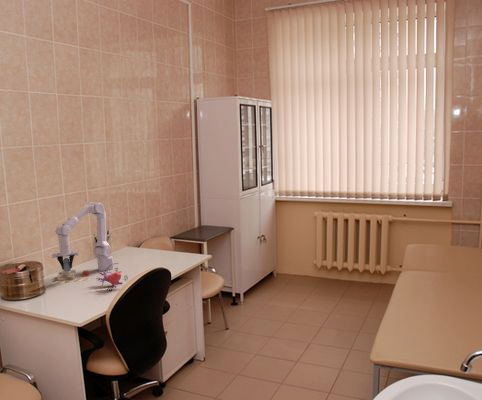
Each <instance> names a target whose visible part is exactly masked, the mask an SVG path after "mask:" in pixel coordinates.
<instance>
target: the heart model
mask: <svg viewBox="0 0 482 400" xmlns="http://www.w3.org/2000/svg"><path fill="white" fill-rule="evenodd" d="M111 265H119V263H118V262H117V263H115V262H114V263H113V264H111ZM111 265H110V266H111ZM110 266H109V267H110ZM109 267H108V268H109ZM108 268H107V269H108ZM107 269H106V270H104V271H100V270H98V271H97V274H99V275H101V276H103V278H101V277H96V280H97V281H98V282H100V283H102V287H103V286H104V282H108V283H110V286H108V287H107V290H108V291H109V292H112V291H113V289H114V287H112V286H115V287H117V288H118V286H119V285H123V282H122V281H121V282H120V280H121V279H122V274H121V273H122V272H123V271H122V270H121V271H118V269H119V268H118V267H114V268H113V270H114V271H115V272H111V271H109V270H107ZM109 273H110V274H109ZM128 278H129V277H128V274H125V275H124V277H123V280H124V281H127V280H128ZM116 285H117V286H116Z"/></svg>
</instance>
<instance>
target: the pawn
mask: <svg viewBox="0 0 482 400" xmlns="http://www.w3.org/2000/svg"><path fill="white" fill-rule="evenodd" d="M63 267H64V271H65V272H67V271H71V270H72V268H71V269H70V261H69V257H64V258H63Z"/></svg>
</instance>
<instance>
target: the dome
mask: <svg viewBox="0 0 482 400" xmlns="http://www.w3.org/2000/svg"><path fill="white" fill-rule="evenodd" d="M61 271H62V272H61V273H62V274H71V271H67V272H65V271H64V269H62V270H61Z"/></svg>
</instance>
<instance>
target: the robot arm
mask: <svg viewBox="0 0 482 400" xmlns="http://www.w3.org/2000/svg"><path fill="white" fill-rule="evenodd" d="M76 213H77V214H75V215H74V216H69V217H68V219H66V221H64V222H63V223H61V224H60V225H58V226H56V229H55V231H54V232H55V234H56V235H57V238H58V247H59V252H57V253H52V255H51V256H52V257H51V258H52V259H54V258H57V259H56V260H57V261H58V262H59V264H60V266H61V269H62V270H63V269H64V267H63V260H64V258H66V257H68V259H69V261H70V269H71V270H72V269H73V262H74V258H75V256H79V255H80V252H79V251H80V250H79V251H71V244H70V236H69V235H70V234H71V231H72V230H73V229H74V228H75V227H76V226H78V224H79V221H81V220H82V219H83V218H84V217H85V216H87V215H88V214H92V215H94V216H95V217H96V235H97V236H96V237H97V241H96V242H95V244H94V249H93V253H94V255H95V257H96V258H97V259H96V260H97V267H98V271H103V272H104V271H105V270H106V269H107V268H108V267H109V266H110V265H111V264H113V265H111V266H110V267H109V268H108V269H107V270H106V271H110V270H111V271H112V270H114V268H115V266H114V265H115V264H114V258H113V255H111V254H112V250H111V249H112V248H111V245H110V244H109V243H108V241H107V213H106V210H105V205H104V204H103V203H101V202H93V201H88V202H87V203H86V204H84V205H83V207H82V208H81V209H80V210H79V211H78V212H76Z"/></svg>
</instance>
